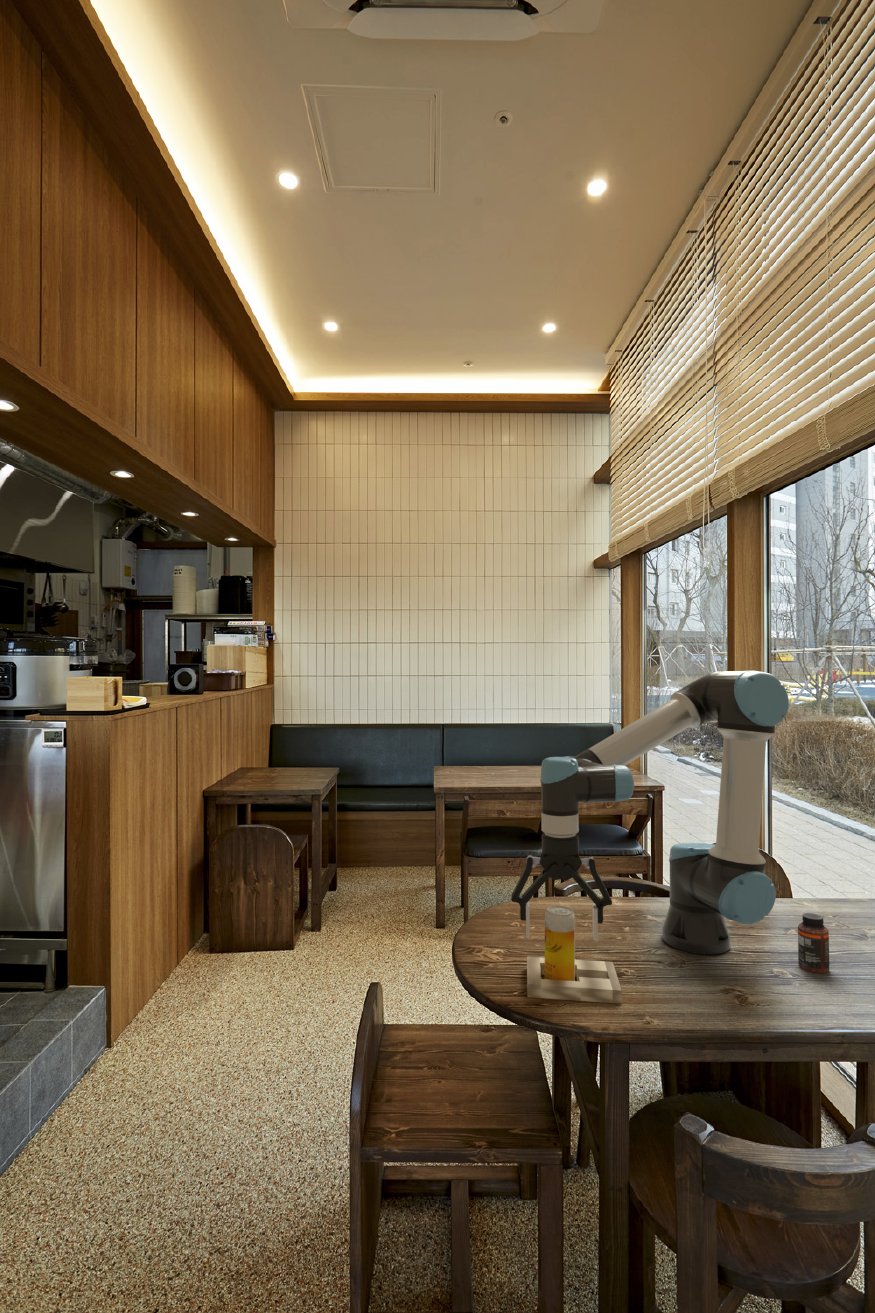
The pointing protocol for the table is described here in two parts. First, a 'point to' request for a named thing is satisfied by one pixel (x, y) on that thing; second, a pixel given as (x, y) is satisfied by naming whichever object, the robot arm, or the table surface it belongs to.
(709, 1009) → the table surface
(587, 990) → the keyhole plate
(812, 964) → the supplement bottle
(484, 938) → the table surface
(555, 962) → the beer can
